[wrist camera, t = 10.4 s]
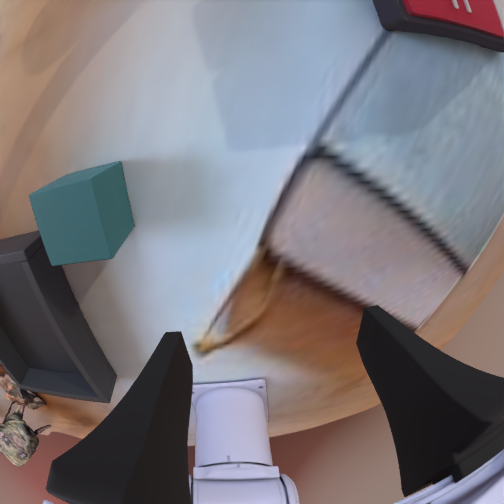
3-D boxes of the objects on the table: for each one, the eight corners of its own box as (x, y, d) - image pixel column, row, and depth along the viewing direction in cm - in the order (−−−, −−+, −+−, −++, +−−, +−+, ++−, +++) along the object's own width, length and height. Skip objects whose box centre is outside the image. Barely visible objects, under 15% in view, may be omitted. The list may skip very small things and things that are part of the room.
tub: (117, 376, 25) (109, 403, 22) (30, 367, 24) (20, 388, 21) (48, 228, 17) (23, 250, 14) (-35, 249, 16) (-55, 267, 13)
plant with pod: (36, 414, 30) (11, 507, 12) (-9, 369, 25) (-50, 468, 7) (64, 416, 30) (39, 524, 12) (13, 368, 24) (-31, 486, 7)
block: (135, 226, 18) (112, 259, 14) (81, 234, 17) (51, 266, 14) (121, 160, 16) (91, 177, 12) (65, 175, 15) (28, 195, 11)
